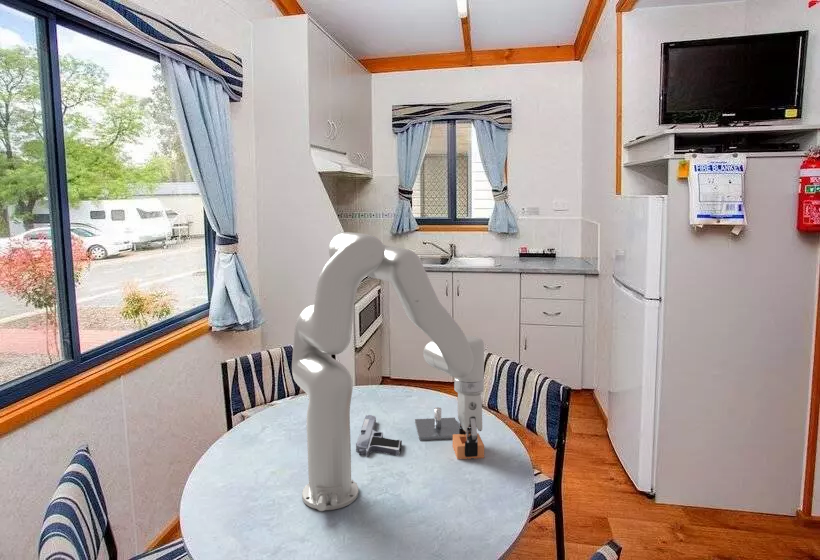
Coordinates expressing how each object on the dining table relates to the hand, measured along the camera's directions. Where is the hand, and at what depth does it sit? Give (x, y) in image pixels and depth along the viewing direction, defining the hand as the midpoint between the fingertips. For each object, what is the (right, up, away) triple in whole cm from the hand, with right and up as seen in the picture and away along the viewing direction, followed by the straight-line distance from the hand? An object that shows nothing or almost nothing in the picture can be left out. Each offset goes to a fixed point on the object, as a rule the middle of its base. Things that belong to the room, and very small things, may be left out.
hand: (468, 448), depth 140 cm
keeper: (-7, +1, +13) cm, 15 cm away
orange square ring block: (0, -1, 0) cm, 1 cm away
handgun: (-23, 0, +9) cm, 25 cm away
